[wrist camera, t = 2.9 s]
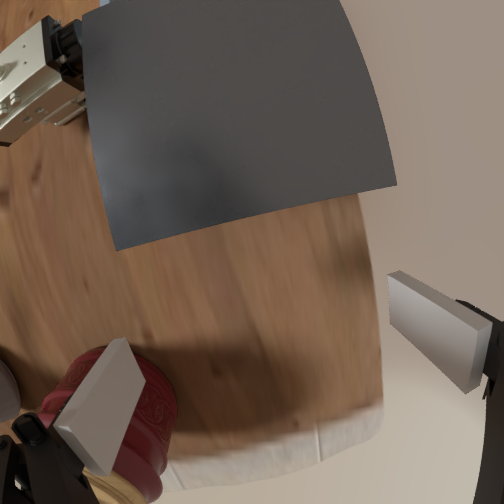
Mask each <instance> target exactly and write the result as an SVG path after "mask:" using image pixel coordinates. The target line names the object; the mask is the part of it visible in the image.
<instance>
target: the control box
mask: <svg viewBox="0 0 504 504" xmlns="http://www.w3.org/2000/svg"><path fill="white" fill-rule="evenodd" d="M82 55H83V73H84V86H85V97H86V106H87V115H88V122H89V129H90V136H91V142H92V149H93V154H94V160H95V165H96V170H97V175H98V180H99V185H100V190H101V194H102V198H103V203H104V207H105V211H106V215H107V219H108V223H109V227H110V230H111V234H112V238H113V241H114V245H115V248H116V251H119V250H123V249H127V248H130V247H134V246H137V245H141V244H145V243H148V242H152V241H156V240H159V239H163V238H167V237H171V236H175V235H178V234H182V233H186V232H190V231H194V230H198V229H202V228H206V227H210V226H214V225H218V224H222V223H226V222H230V221H234V220H238V219H242V218H246V217H251V216H255V215H259V214H263V213H268V212H272V211H276V210H281V209H285V208H290V207H294V206H299V205H303V204H308V203H312V202H317V201H321V200H326V199H331V198H336V197H340V196H345V195H350V194H355V193H360V192H365V191H370V190H375V189H380V188H385V187H391V186H396V185H397V182H396V176H395V171H394V166H393V161H392V156H391V151H390V147H389V142H388V138H387V134H386V130H385V126H384V122H383V118H382V115H381V111H380V108H379V104H378V101H377V97H376V94H375V91H374V87H373V84H372V81H371V78H370V76H369V72H368V69H367V66H366V64H365V61H364V58H363V55H362V53H361V50H360V47H359V45H358V43H357V40H356V37H355V35H354V32H353V30H352V28H351V25H350V23H349V21H348V18H347V16H346V14H345V12H344V10H343V8H342V5H341V3H340V1H339V0H115V1H113V2H111V3H108V4H106V5H103V6H101V7H99V8H97V9H94V10H92V11H90V12H88V13H86V14H84V15H82Z"/></svg>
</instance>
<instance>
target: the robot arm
mask: <svg viewBox="0 0 504 504" xmlns="http://www.w3.org/2000/svg"><path fill="white" fill-rule="evenodd" d="M387 279H388V293H389V311H390V324H391V325H392V326H393V327H394V328H396V329H397V330H398V331H399V332H400V333H401V334H402V335H403V336H404V337H405V338H407V339H408V340H409V341H410V342H411V343H412V344H413V345H414V346H415V347H416V348H417V349H419V350H420V351H421V352H422V353H423V354H424V355H425V356H426V357H427V358H428V359H429V360H430V361H431V362H432V363H433V364H435V366H437V367H438V368H439V369H440V370H441V371H442V372H443V373H444V374H445V375H446V376H447V377H448V378H449V379H450V380H451V381H452V382H453V383H454V384H456V386H457V387H459V389H460V390H461V391H463V392H464V394H467V393H469V392H470V391H472V390H473V389H475V388H476V387H478V386H480V382H481V378H482V374H483V373H484V374H485V375H486V376H488V381H487V385H486V388H485V392H484V395H483V399H485V397H486V395H487V397H486V422H485V434H484V445H483V452H482V460H481V466H480V472H479V478H478V483H477V488H476V492H475V497H474V501H473V504H504V321H503V322H501V321H499V320H498V319H496V318H494V317H493V316H491V315H489V314H487V313H485V312H484V311H481V310H480V309H479V308H477V307H476V308H475V306H473V305H471V304H469V303H468V302H465V301H461V300H453V299H451V298H449V297H448V296H446V295H444V294H442V293H440V292H439V291H437V290H435V289H433V288H431V287H430V286H427V285H426V284H424V283H422V282H420V281H418V280H417V279H415V278H413V277H411V276H409V275H407V274H405V273H403V272H402V271H397V272H394V273H391V274H387ZM145 382H146V381H145V379H144V377H143V375H142V372H141V370H140V368H139V366H138V364H137V362H136V360H135V357H134V355H133V353H132V351H131V348H130V346H129V344H128V342H127V339H126V337H123V338H117V339H113V340H112V341H111V342H110V344H109V345H108V346H107V348H106V349H105V351H104V352H103V353H102V355H101V356H100V357H99V359H98V360H97V362H96V363H95V364H94V366H93V367H92V369H91V370H90V371H89V373H88V374H87V376H86V377H85V378H84V380H83V381H82V383H81V384H80V386H79V387H78V389H77V390H76V391H75V392H74V393H73V394H71V395H70V396H69V397H68V398H67V400H66V401H65V403H64V404H63V405H64V406H62V407H61V409H60V410H59V411H60V412H58V413H57V414H56V416H55V417H54V419H53V420H52V422H51V423H50V425H49V427H48V428H46V427H45V426H44V424H43V423H42V421H41V420H40V419H39V417H38V416H37V414H36V413H33V412H28V413H25V414H23V415H21V416H19V417H18V418H17V419H16V420H15V421H14V422H13V424H12V427H11V429H12V430H13V431H14V433H15V434H16V435H17V437H18V438H19V439H20V440H21V442H22V443H21V444H16V443H15V442H14V441H13V439H12V438H11V437H10V436H9V435H1V436H0V504H100V503H99V501H98V499H97V497H96V495H95V493H94V491H93V489H92V487H91V485H90V483H89V481H88V479H87V477H86V476H85V475H84V474H83V472H82V471H83V469H84V467H86V468H87V469H88V470H89V471H90V472H91V473H92V474H93V475H96V476H105V477H109V476H110V473H111V470H112V467H113V464H114V462H115V459H116V456H117V454H118V451H119V448H120V445H121V443H122V440H123V438H124V435H125V432H126V430H127V427H128V424H129V422H130V419H131V417H132V414H133V412H134V409H135V407H136V404H137V402H138V399H139V397H140V394H141V392H142V389H143V387H144V385H145ZM15 480H16V481H17V482H18V483H19V484H20V485H21V490H20V489H18V488H17V487H16V486H15Z"/></svg>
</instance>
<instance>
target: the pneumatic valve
mask: <svg viewBox="0 0 504 504" xmlns="http://www.w3.org/2000/svg"><path fill="white" fill-rule="evenodd" d="M60 25H61V21H60V20H59V19H58V20H56V21H55V20H54V19H52V18H51V17H50V16H49V15H48V16H46V17H45V18H43V19H42V20H41V21H39V22H38V23H36V24H35V25H34V26H32V27H31V28H30V29H29V30H27V31H26V32H25V33H24V34H22V35H21V36H20V37H19V38H17V39H16V40H15V41H14V42H13V43H12V44H10V45H9V46H8V47H7V48H6V49H5V50H4V51H3V52H1V53H0V146H6V147H9V146H10V145H11V144H12V143H13V142H15V141H16V140H18V139H19V138H20V137H21V136H22V135H24V134H25V133H26V132H27V131H28V130H30V129H31V128H32V127H33V126H35V125H36V124H37V123H39V122H41V123H42V124H45V125H46V124H47V123H48V122H52V123H55V125H56V126H58V125H59V126H62V125H63V124H65V123H66V122H68V121H69V120H71V119H72V118H74V117H75V116H77V115H79V114H80V113H82V112H83V111H85V110H86V109H87V106H86V101H85V102H84V98H86V97H85V86H84V73H83V55H82V21H80V20H79V19H75V20H73V21H72V22H70V23H68V24H67V25H65V26H64V27H62V26H60Z"/></svg>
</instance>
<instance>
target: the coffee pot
mask: <svg viewBox="0 0 504 504" xmlns="http://www.w3.org/2000/svg"><path fill="white" fill-rule="evenodd" d="M20 406H21V402H20V395H19V391H18V386H17V382H16V380H15V378H14V376H13V375H12V373H11V371H10V370H9V369H8V367H7V366H6V365H5V364H4V363H3V362H2V361H1V360H0V423H1V422H4V421H7V420H10V419H13V418H15V417H16V416H18V414H19V411H20Z"/></svg>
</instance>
